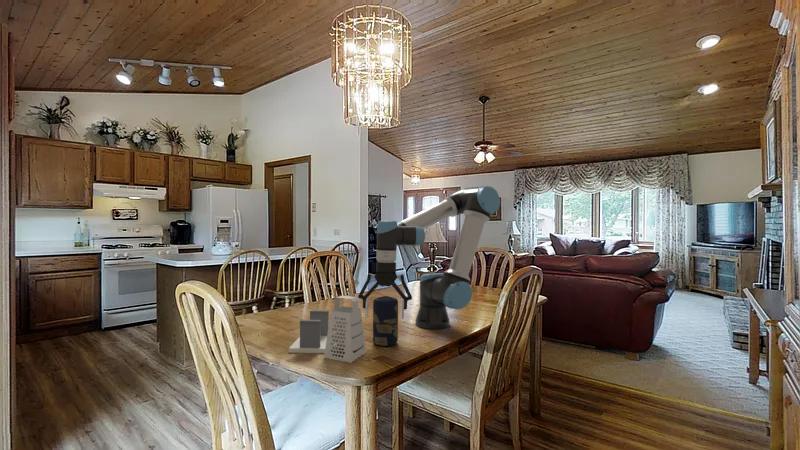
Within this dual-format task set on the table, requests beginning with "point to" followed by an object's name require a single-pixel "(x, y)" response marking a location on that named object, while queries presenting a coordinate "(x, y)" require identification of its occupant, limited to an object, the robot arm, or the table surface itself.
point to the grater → (345, 332)
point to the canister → (385, 321)
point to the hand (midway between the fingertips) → (384, 317)
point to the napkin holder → (312, 333)
